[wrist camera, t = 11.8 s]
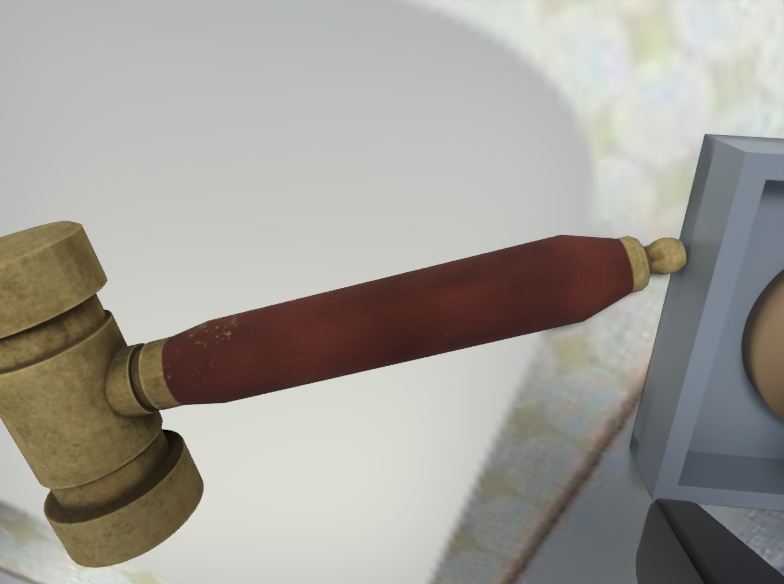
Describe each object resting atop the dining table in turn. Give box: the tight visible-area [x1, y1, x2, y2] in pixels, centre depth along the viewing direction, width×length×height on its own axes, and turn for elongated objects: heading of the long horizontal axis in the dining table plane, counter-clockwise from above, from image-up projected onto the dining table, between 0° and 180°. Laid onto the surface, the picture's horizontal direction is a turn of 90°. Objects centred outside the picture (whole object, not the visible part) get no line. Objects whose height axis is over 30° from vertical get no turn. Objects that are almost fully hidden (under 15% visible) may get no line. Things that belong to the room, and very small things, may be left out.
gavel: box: [0, 221, 686, 568], centre depth 19 cm, size 21×5×10 cm
